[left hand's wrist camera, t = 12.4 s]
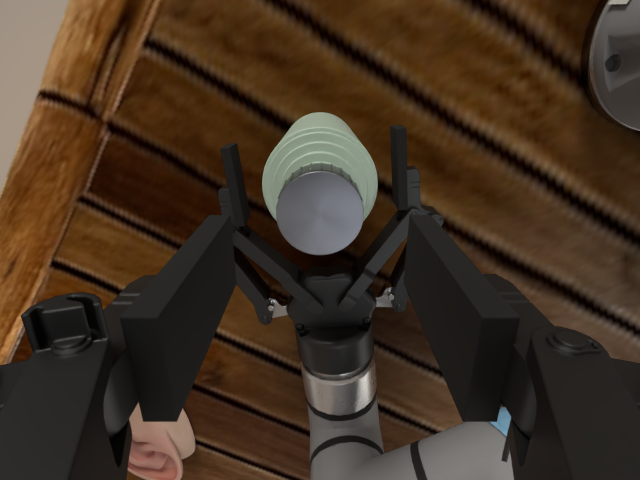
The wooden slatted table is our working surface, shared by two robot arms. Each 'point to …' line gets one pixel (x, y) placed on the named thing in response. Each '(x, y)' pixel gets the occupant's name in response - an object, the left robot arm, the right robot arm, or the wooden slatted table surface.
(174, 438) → the anatomical model
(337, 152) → the bottle
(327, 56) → the wooden slatted table surface
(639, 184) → the wooden slatted table surface
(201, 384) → the wooden slatted table surface
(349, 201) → the cap
